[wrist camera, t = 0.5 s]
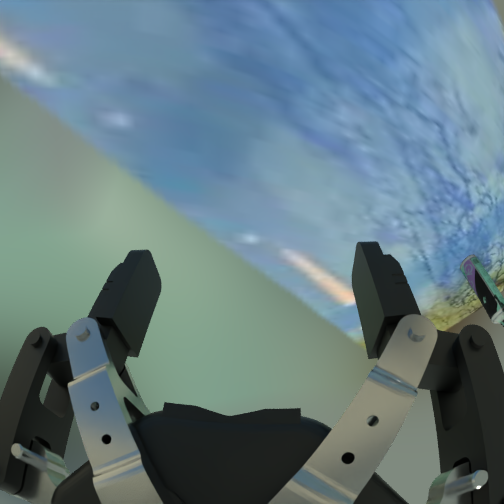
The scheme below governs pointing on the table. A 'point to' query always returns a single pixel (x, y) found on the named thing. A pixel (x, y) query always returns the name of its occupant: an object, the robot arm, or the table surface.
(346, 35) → the table surface
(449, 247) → the table surface
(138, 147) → the table surface
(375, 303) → the robot arm
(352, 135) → the table surface
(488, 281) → the spray can
